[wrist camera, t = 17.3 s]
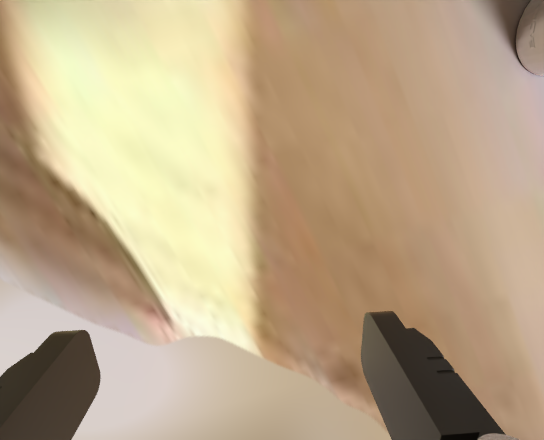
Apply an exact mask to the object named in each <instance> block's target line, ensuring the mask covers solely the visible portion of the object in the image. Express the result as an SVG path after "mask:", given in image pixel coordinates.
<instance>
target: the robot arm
mask: <svg viewBox="0 0 544 440" xmlns="http://www.w3.org/2000/svg"><path fill="white" fill-rule="evenodd" d="M516 49H517V53H518V57H519V59H520V61H521V63H522V64H523V66H524V67H525V68H526V69H527V70H528V71H530V72H532V73H533V74H535V75H540V76H544V0H531V1H530V2H529V4H528V5H527V7H526V8H525V10H524V12H523V14H522V17H521V19H520V22H519V25H518V29H517V35H516ZM361 362H362V368H363V372H364V375H365V378H366V380H367V383H368V385H369V387H370V390H371V392H372V394H373V397H374V399H375V401H376V404H377V406H378V408H379V411H380V413H381V415H382V418H383V420H384V423H385V425H386V427H387V430H388V432H389V434H390V437H391V439H392V440H519V439H517V438H514V437H511V436H508V435H506V434H505V433H504V432H503V431H502V430H501V428H500V427H499V426H498V424H497V423H496V422H495V421H494V419H493V418H492V417H491V416H490V414H489V413H488V412H487V411H486V409H485V408H484V407H483V405H482V404H481V403H480V402H479V400H478V399H477V398H476V397H475V395H474V394H473V393H472V392H471V390H470V389H469V388H468V386H467V385H466V384H465V383H464V381H463V380H462V379H461V378H460V376H459V375H458V374H457V373H455V372H454V369H453V367H452V366H451V365H450V364H449V362H448V361H447V360H446V359H444V356H443V355H442V353H441V352H440V351H439V350H438V348H437V347H436V346H435V345H434V343H433V342H432V341H431V340H430V339H428V338H427V337H426V336H424V335H423V334H422V333H420V332H419V331H417V330H416V329H415V328H408V329H406V328H405V327H404V325H403V324H402V322H401V321H400V320H399V318H398V317H397V315H396V314H395V313H394V312H393V311H384V312H369V313H366V314H365V316H364V324H363V336H362V348H361ZM99 385H100V370H99V366H98V363H97V360H96V356H95V352H94V349H93V345H92V342H91V339H90V335H89V334H88V332H87V331H85V330H78V331H77V330H76V331H61V332H54V333H53V334H51V335H50V336H49V337H48V338H47V339H46V340H45V341H44V342H43V343H42V344H41V346H39V348H38V349H37V350H36V351H35V352H34V353H30V354H29V355H27V356H26V357H24V358H23V359H21V360H20V361H18V362H17V363H16V364H14V365H13V366H11V367H10V368H8V369H7V370H6V371H5V373H3V375H2V376H1V377H0V440H71V439H72V437H73V436H74V434H75V432H76V430H77V428H78V427H79V425H80V423H81V421H82V419H83V418H84V416H85V414H86V412H87V411H88V409H89V407H90V405H91V404H92V402H93V400H94V398H95V396H96V394H97V392H98V388H99Z"/></svg>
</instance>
